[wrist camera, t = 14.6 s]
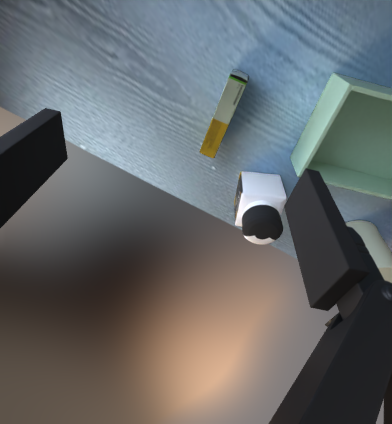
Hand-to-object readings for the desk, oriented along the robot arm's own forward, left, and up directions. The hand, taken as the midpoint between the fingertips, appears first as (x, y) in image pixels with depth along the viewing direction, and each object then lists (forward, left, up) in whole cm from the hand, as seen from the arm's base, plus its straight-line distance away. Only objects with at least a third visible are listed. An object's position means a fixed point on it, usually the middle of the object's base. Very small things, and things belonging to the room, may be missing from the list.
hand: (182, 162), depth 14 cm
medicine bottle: (+18, +13, -28) cm, 36 cm away
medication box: (+6, +4, -28) cm, 29 cm away
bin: (+4, +27, -28) cm, 39 cm away
